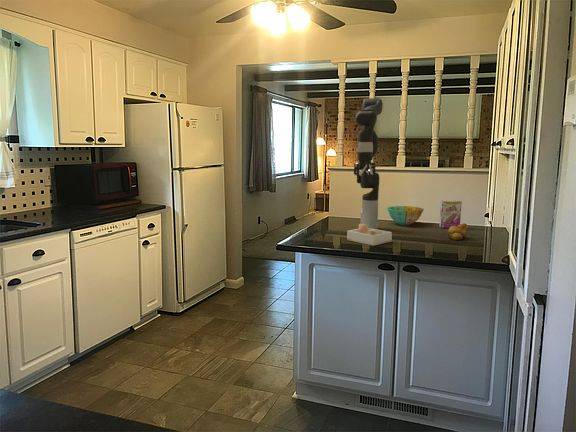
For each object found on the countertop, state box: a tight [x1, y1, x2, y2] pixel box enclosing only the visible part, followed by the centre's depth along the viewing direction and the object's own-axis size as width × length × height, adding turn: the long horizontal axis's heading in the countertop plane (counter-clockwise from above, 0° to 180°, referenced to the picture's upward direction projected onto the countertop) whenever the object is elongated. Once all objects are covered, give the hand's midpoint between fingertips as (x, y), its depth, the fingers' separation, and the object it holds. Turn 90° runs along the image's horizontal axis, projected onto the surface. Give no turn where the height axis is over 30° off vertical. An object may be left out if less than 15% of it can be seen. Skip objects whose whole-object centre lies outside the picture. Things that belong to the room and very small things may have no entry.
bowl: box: [386, 205, 425, 226], centre depth 287 cm, size 22×22×10 cm
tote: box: [346, 228, 393, 246], centre depth 239 cm, size 18×15×5 cm
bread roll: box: [447, 222, 469, 241], centre depth 245 cm, size 13×10×8 cm
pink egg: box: [358, 223, 368, 234], centre depth 242 cm, size 5×5×7 cm
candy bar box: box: [439, 199, 462, 229], centre depth 274 cm, size 11×5×16 cm, turn 84°
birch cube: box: [369, 229, 384, 235], centre depth 236 cm, size 5×5×5 cm
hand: (364, 182), depth 238 cm, fingers open, 8 cm apart
